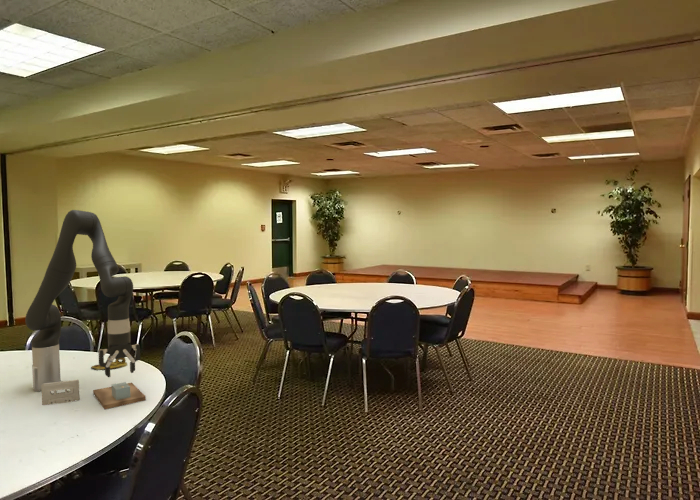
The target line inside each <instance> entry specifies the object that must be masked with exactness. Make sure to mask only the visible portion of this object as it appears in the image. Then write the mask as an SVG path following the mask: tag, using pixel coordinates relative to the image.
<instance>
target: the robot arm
mask: <svg viewBox="0 0 700 500" xmlns="http://www.w3.org/2000/svg"><path fill="white" fill-rule="evenodd" d="M79 235H81V236H88V238H89V240H91V243H92V248H91V249H92V250H91V255H90V256H91V257H90V258H91V261H92V264H93V266H94V268H95V269H96V271H97V273H98V277H99V281H100V288H101V289H100V290H101V292H102V294H103V295H104V296H106V297H107V298H117V297H118V298H117V300H115V301H114V302H112V303H110V304H108V306H107V348H104V349H102V348H99V349H98V353H97V354H98V365H100V366H101V367H105V370H104V375H105V376H106V377H107V378H111V370H110V367H109V366H110V364H111V363H112V362H114V360H116V359H119V358H125V359H126V358H127V359H128V360H129V361H130V362H129V371H130V373H131V374H133V373H134V372H136V362H139V361H140V360H141V346H140V344H138V343H135V344H131V322H130V309H129V308H130V302H131V299H132V295H133V292H134V284H133V280H132V279H131V278H130V277H129V276H118V277H117V276H116V275H117V274H118V272H119V270H120V267H119V265H118V264H117V262H116V260H115V258H114V256H113V254H112V252H111V250H110V248H109V246H108V243H107V240H106V236H105V232H104V230H103V227H102V223H101V220H100V218H99V217H98V215H97V214H96V213H94V212H91V211H85V210H79V209H72V210H70V211H68V212H67V213H66V214H65V217H64V218H63V221H62V225H61V228H60V232H59V236H58V240H57V243H56V246H55V248H54V251H53V253H52V256H51V259H50V261H49V263H48V265H47V268H46V271H45V273H44V276H43V279H42V281H41V284H40V286H39V288H38V290H37V293H36V294H35V297H34V298H33V301H32V302H31V303H30V306H29V308H28V310H27V311H26V314H25V318H24V319H25V326H26V328H28V329H29V330H30V331H35V332H36V331H39V332H38V334H37V335H36V336H35V337H34V338H33V339H32V340H31V354H32V358H31V359H32V364H31V370H32V388H33V392H42V390H41V385H42V384H45V383H54V382H62V380H61V362H60V360H61V359H60V338H61V334H62V314H61V311H60V309H59V307H58V306H56V305H55V304H53V303H54V301H56V299H57V298H58V297H59V295H60V294H61V293H63V291H64V290H65V289H66V288H67V287H68V286H69V285H70V283H71V282H72V279H73V276H74V275H75V272H76V268H77V260H76V256H75V253H74V249H73V247H74V243H75V239H76V238H77V236H79ZM115 276H116V277H115ZM132 349H133V351H134V357H133V356H132V355H131V354H130V352H131V350H132ZM106 353H107V354H108V356H107V359H106V361H104V360H105V358H104V357H105V356H106Z"/></svg>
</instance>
